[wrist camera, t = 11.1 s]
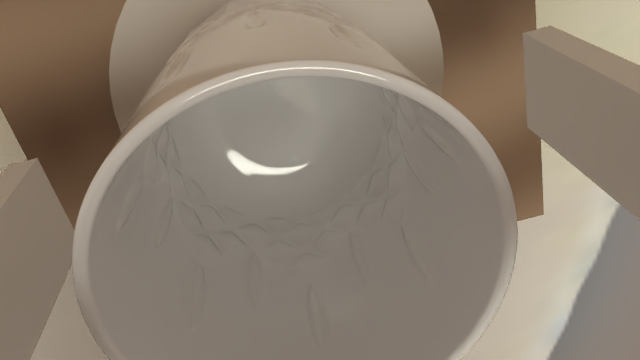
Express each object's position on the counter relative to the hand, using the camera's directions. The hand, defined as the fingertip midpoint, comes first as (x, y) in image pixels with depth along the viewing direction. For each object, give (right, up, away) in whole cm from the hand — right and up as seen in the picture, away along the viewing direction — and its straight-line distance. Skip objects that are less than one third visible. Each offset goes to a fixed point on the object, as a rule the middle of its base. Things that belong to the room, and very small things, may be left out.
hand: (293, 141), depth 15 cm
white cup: (-1, +2, +4) cm, 4 cm away
